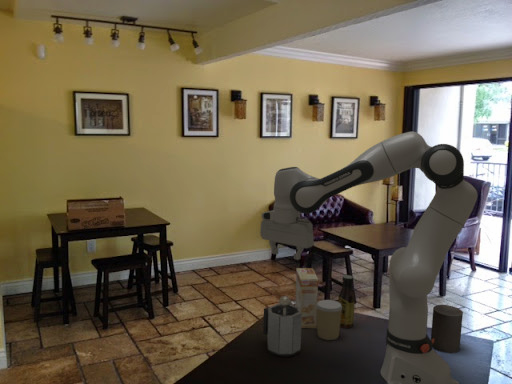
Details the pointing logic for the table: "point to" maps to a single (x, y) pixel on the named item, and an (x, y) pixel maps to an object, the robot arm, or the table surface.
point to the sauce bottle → (347, 302)
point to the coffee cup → (328, 319)
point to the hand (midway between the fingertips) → (285, 256)
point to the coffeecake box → (307, 296)
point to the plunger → (284, 303)
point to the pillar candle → (446, 328)
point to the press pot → (283, 330)
